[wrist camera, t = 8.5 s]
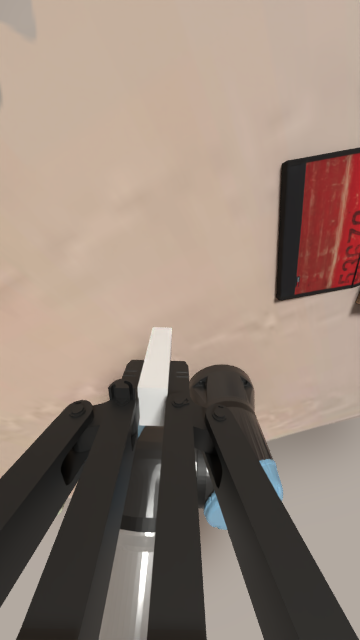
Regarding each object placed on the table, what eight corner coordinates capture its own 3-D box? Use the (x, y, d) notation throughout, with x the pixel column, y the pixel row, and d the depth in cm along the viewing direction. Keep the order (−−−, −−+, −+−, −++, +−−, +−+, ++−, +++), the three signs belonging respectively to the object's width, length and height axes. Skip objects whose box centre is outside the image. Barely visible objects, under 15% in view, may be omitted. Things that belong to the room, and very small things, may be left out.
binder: (280, 301, 37) (287, 159, 28) (274, 297, 40) (279, 163, 30) (370, 286, 37) (406, 136, 28) (359, 282, 39) (390, 142, 30)
